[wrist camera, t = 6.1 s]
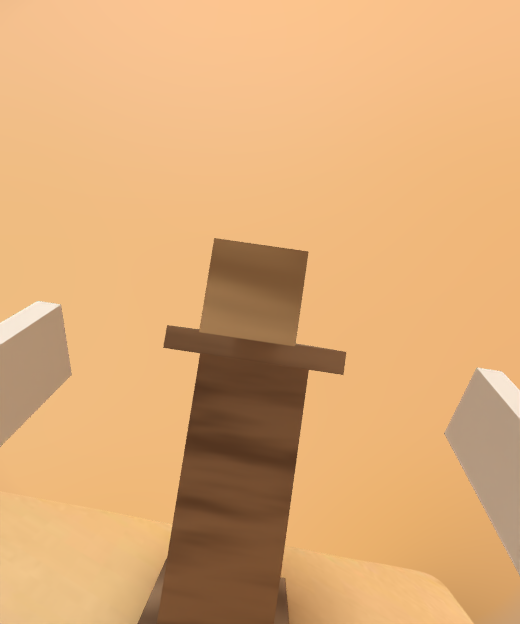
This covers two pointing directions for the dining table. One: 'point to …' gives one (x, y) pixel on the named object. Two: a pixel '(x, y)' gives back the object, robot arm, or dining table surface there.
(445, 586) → the dining table surface
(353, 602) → the dining table surface
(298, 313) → the brown streaked block
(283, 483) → the shelf stand
